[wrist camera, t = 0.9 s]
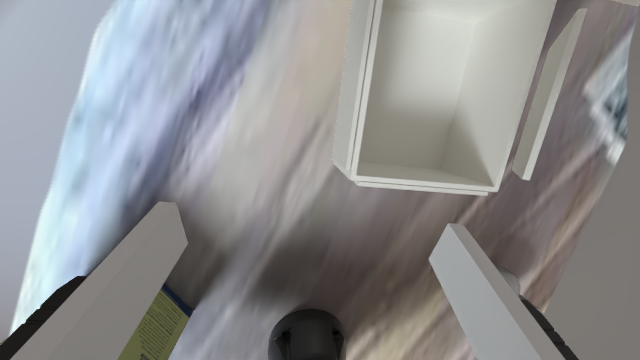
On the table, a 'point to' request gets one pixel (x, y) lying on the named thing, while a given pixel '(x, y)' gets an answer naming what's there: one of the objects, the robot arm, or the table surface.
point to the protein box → (158, 328)
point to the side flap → (546, 96)
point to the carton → (436, 91)
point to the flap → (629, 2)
